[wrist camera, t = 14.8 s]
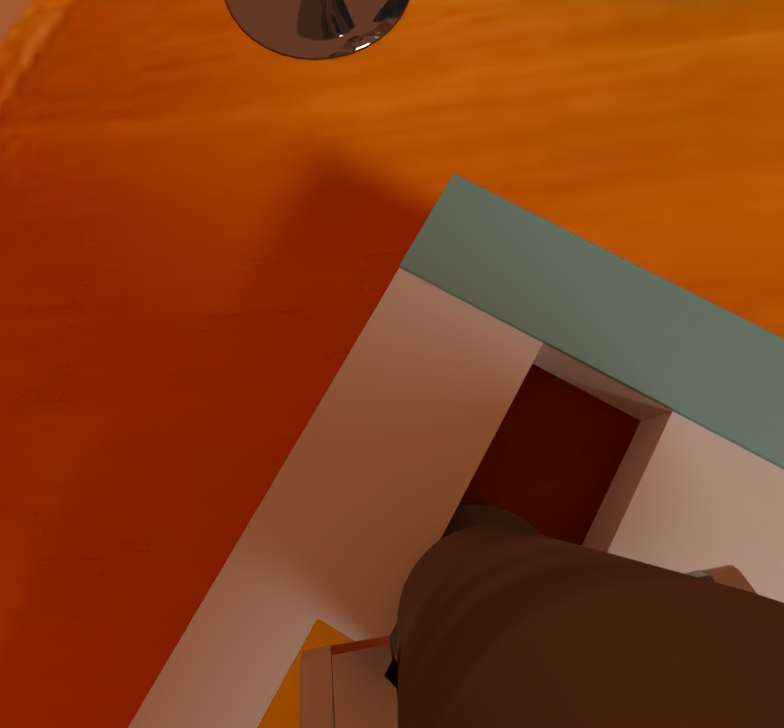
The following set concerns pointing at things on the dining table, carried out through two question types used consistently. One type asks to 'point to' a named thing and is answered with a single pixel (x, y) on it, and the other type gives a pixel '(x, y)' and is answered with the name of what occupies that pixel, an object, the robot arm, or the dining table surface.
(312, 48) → the wine glass
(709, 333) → the keyhole plate
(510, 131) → the dining table surface
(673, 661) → the knob post
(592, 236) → the dining table surface
